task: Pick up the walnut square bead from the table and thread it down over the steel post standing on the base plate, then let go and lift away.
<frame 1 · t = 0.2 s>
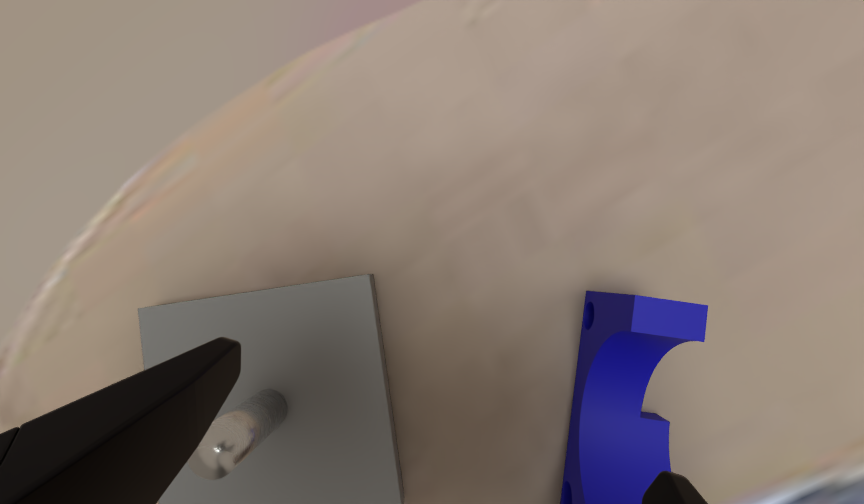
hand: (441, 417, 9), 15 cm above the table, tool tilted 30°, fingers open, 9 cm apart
post stand: (278, 400, 24), on the table
cable clip: (611, 405, 24), on the table
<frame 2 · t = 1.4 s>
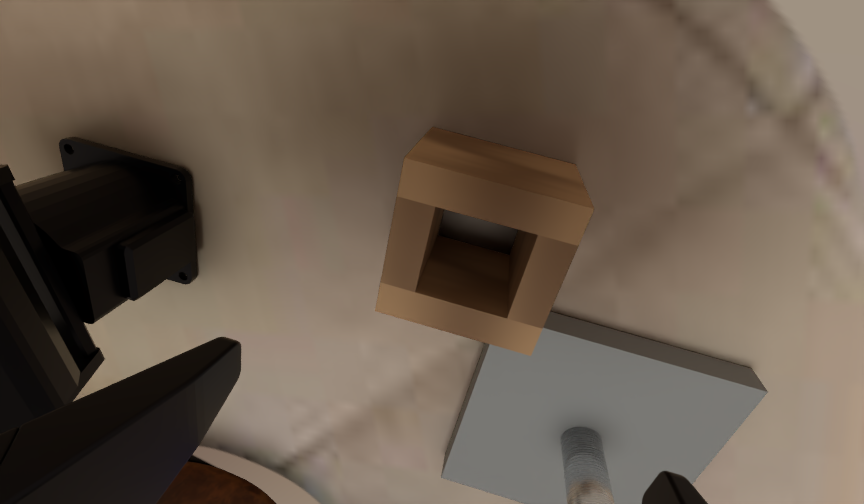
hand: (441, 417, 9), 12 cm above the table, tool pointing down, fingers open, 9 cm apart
post stand: (577, 418, 23), on the table
walnut bead: (483, 211, 19), on the table
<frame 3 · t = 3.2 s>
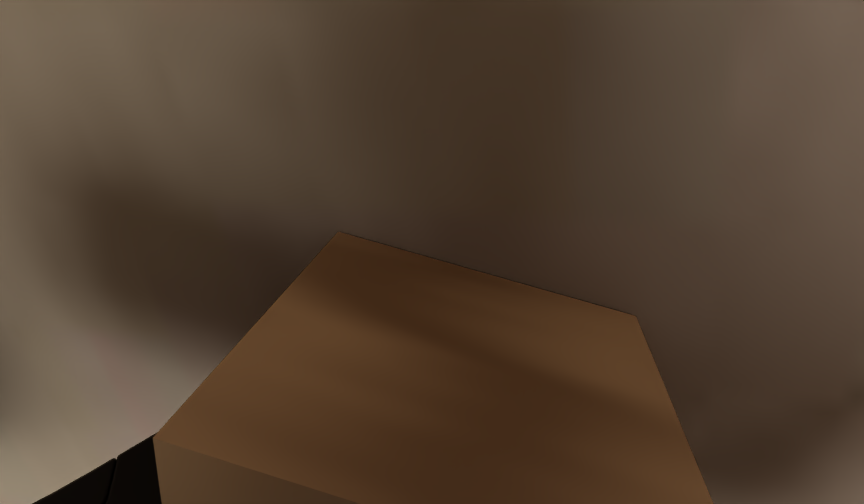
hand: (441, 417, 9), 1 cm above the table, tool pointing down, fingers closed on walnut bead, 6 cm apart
walnut bead: (448, 382, 10), on the table, touching gripper
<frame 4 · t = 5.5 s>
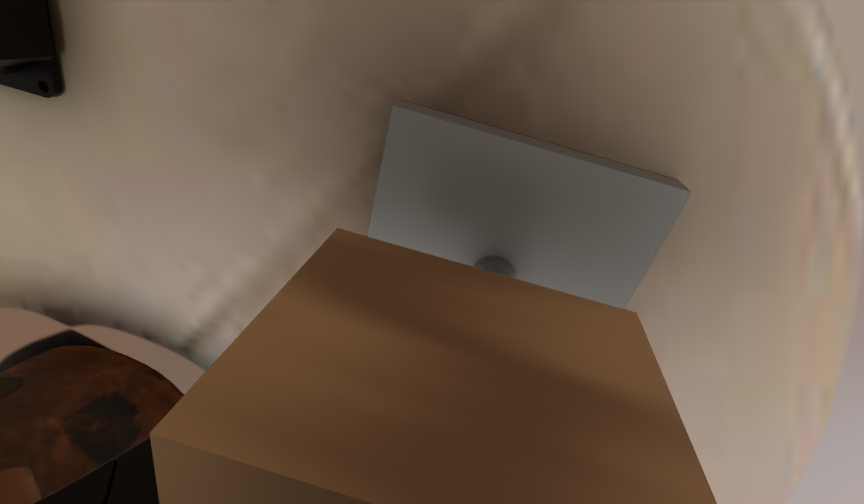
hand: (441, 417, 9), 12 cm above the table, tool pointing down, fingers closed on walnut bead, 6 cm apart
post stand: (494, 259, 21), on the table
walnut bead: (448, 380, 10), point 11 cm above the table, touching gripper
brown rounded piece: (128, 407, 31), on the table
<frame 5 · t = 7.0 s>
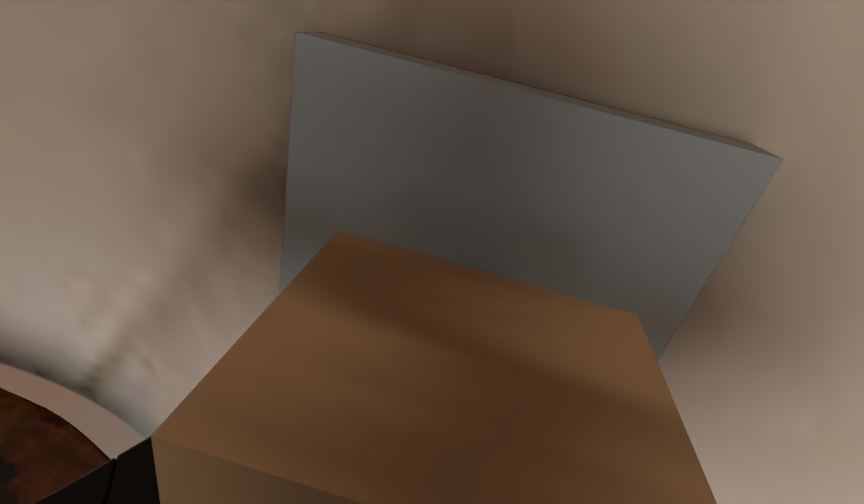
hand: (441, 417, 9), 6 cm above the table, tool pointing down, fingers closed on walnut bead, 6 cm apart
post stand: (472, 271, 15), on the table
walnut bead: (448, 381, 10), point 5 cm above the table, touching gripper
brown rounded piece: (36, 455, 25), on the table
when the fingers open (5 cm above the table, at t = 8.1 s): walnut bead drops 3 cm, resting on post stand.
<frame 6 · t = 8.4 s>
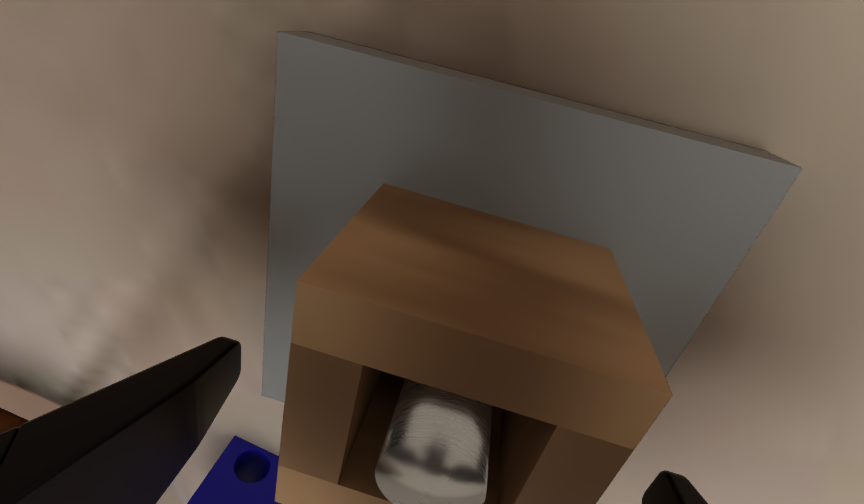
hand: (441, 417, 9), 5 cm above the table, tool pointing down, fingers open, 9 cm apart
post stand: (469, 283, 14), on the table
walnut bead: (464, 308, 13), point 1 cm above the table, touching post stand
brown rounded piece: (20, 468, 25), on the table
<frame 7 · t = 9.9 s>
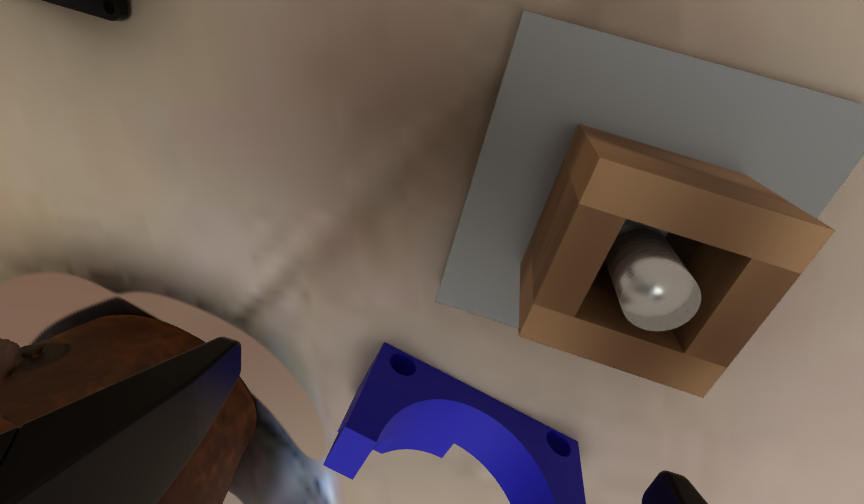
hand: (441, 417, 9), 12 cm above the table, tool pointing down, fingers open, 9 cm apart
post stand: (614, 211, 18), on the table
cable clip: (463, 411, 25), on the table
walnut bead: (622, 223, 17), point 1 cm above the table, touching post stand
brown rounded piece: (173, 386, 29), on the table
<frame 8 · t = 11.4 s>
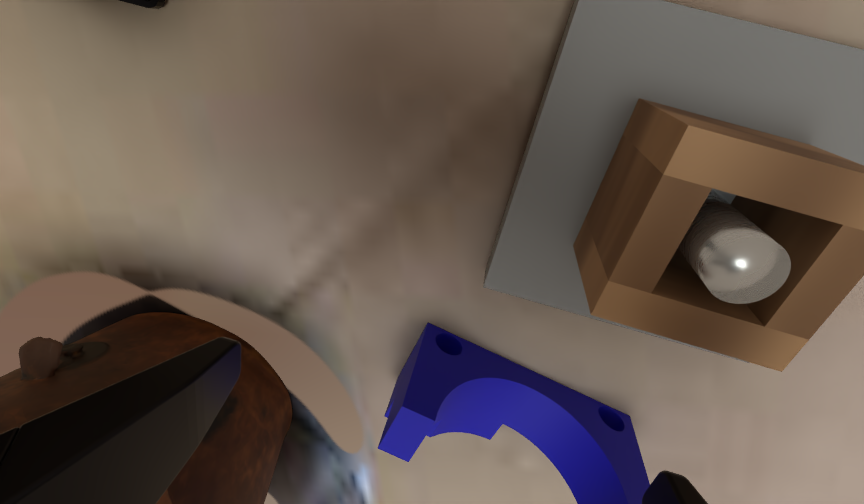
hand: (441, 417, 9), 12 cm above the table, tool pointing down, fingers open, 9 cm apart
post stand: (667, 189, 18), on the table
cable clip: (509, 391, 25), on the table
walnut bead: (680, 200, 16), point 1 cm above the table, touching post stand
brown rounded piece: (205, 384, 29), on the table
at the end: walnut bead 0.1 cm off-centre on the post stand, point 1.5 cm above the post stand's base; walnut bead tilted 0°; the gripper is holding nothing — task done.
